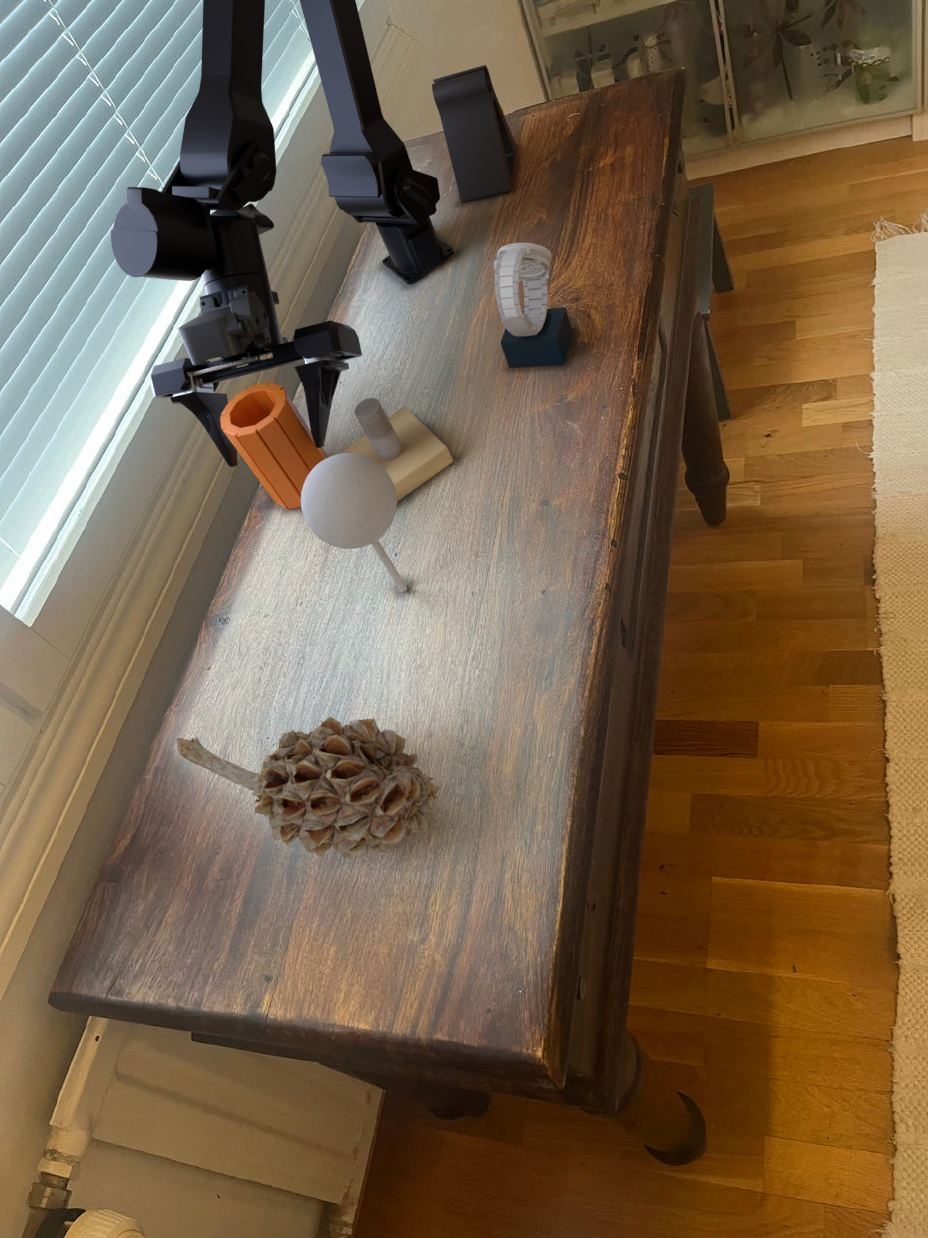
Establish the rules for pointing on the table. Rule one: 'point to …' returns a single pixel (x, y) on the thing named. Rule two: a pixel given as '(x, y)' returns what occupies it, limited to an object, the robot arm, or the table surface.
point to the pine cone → (334, 787)
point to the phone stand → (475, 133)
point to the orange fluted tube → (272, 440)
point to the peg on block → (399, 446)
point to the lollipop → (351, 504)
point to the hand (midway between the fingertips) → (276, 457)
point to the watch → (529, 308)
